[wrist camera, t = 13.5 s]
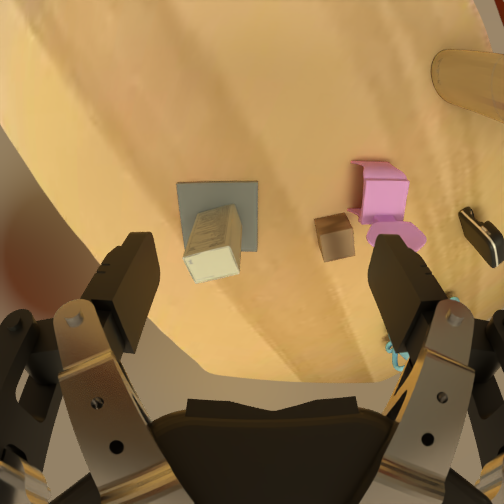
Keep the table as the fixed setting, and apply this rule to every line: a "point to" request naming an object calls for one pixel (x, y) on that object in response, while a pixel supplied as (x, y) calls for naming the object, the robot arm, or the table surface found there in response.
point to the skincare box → (214, 244)
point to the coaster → (220, 205)
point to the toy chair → (386, 204)
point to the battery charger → (483, 237)
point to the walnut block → (335, 237)
